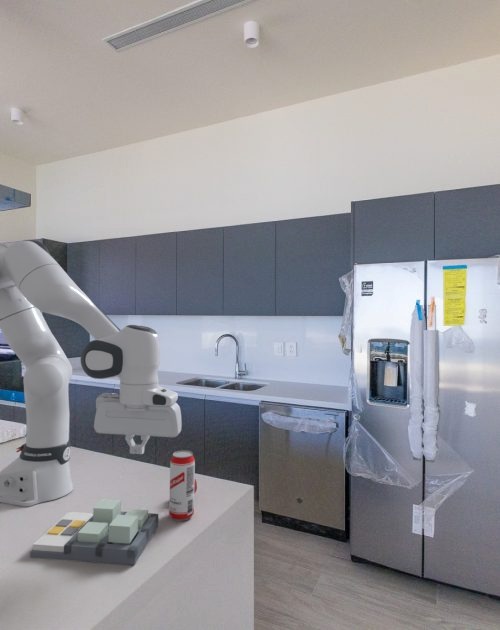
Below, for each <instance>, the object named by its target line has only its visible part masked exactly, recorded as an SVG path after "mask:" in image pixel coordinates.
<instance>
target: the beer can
mask: <svg viewBox="0 0 500 630" xmlns="http://www.w3.org/2000/svg"><path fill="white" fill-rule="evenodd" d="M193 454H194V453H193V452H192V451H191V450H183V449H182V450H176V451H174V452H173V453H172V457H171V459H170V461H169V462H170V467H169V472H170V473H169V505H168V507H169V508H168V509H169V510H168V514H169V517H170V518H171V519H172V520H174V521H176V522H184V521H188V520H189V519H190V518H192V517H193V515H194V513H195V494H194V479H195V480H196V478H195V469H196V467H195V466H196V462H195V461H196V460H195V457H194V455H193Z"/></svg>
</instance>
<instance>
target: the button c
mask: <svg viewBox="0 0 500 630" xmlns="http://www.w3.org/2000/svg"><path fill="white" fill-rule="evenodd" d="M137 532H138V516H132V515H117V516H116V518H115V519H114V520H113V521H112V522H111V523H110V525H109V541H108V542H115V543H129V544H130V542H131V541H132V539H133V538H134V536H135V535H136V533H137Z"/></svg>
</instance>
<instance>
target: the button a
mask: <svg viewBox="0 0 500 630" xmlns="http://www.w3.org/2000/svg"><path fill="white" fill-rule="evenodd" d="M107 533H108V523H101V522H88V523H87V524H86V525H85V526H84V527H83V528H82V529H81V530H80V531H79V532H78V542H89V543H100V542H101V540H102V539H103V538H104V537H105V535H106V534H107Z"/></svg>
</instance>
